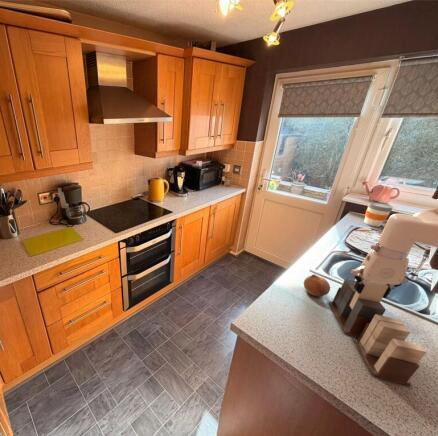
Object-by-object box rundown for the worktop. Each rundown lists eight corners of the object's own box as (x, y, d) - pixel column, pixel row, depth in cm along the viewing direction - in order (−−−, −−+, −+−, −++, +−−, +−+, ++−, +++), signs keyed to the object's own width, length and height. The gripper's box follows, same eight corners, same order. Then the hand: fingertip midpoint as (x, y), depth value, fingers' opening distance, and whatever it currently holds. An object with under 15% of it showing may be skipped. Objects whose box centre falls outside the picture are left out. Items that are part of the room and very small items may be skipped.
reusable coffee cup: (385, 229, 161) (395, 209, 154) (362, 224, 167) (371, 205, 161) (381, 222, 170) (390, 203, 164) (359, 218, 177) (367, 200, 170)
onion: (302, 293, 108) (299, 272, 108) (325, 292, 105) (322, 270, 105) (310, 301, 99) (306, 278, 99) (336, 300, 96) (332, 276, 96)
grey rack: (353, 308, 96) (367, 281, 90) (374, 340, 83) (392, 312, 77) (328, 302, 99) (340, 277, 93) (344, 333, 85) (359, 305, 79)
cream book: (370, 309, 86) (384, 281, 80) (373, 314, 84) (388, 286, 78) (349, 305, 88) (362, 278, 82) (352, 309, 86) (365, 282, 80)
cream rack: (384, 347, 80) (403, 318, 74) (409, 385, 69) (434, 355, 63) (353, 339, 83) (369, 311, 77) (372, 375, 72) (393, 346, 66)
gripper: (364, 252, 74) (345, 295, 82) (434, 262, 69) (407, 306, 77) (353, 241, 81) (336, 281, 88) (417, 249, 76) (393, 291, 83)
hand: (369, 292), depth 82 cm, fingers closed on cream book, 6 cm apart
